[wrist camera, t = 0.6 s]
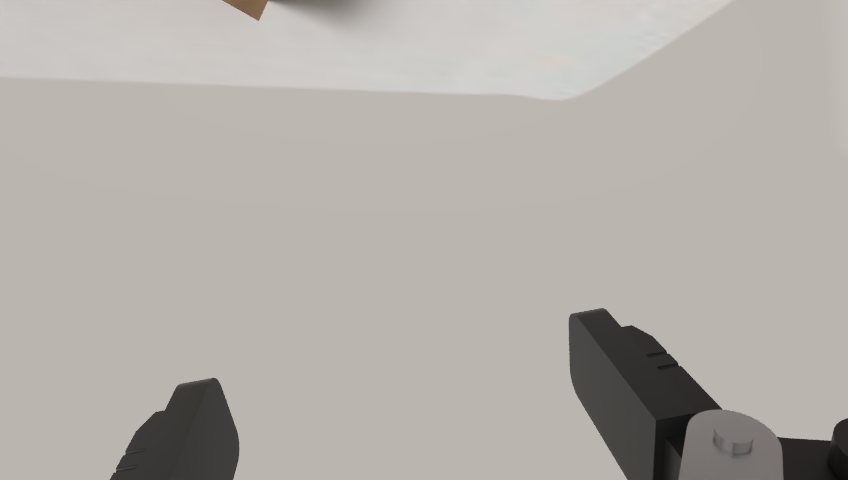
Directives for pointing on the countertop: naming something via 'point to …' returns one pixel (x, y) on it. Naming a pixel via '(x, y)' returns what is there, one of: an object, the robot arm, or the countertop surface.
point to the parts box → (249, 6)
